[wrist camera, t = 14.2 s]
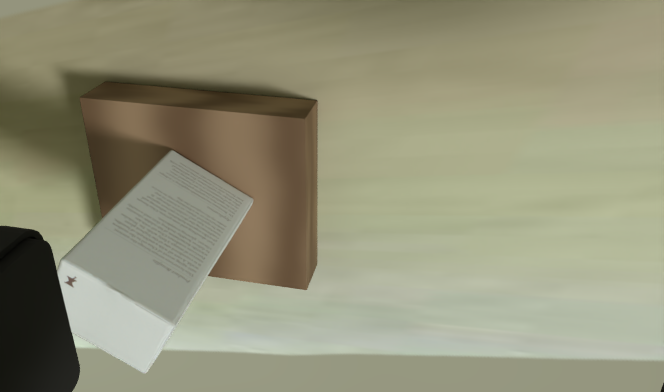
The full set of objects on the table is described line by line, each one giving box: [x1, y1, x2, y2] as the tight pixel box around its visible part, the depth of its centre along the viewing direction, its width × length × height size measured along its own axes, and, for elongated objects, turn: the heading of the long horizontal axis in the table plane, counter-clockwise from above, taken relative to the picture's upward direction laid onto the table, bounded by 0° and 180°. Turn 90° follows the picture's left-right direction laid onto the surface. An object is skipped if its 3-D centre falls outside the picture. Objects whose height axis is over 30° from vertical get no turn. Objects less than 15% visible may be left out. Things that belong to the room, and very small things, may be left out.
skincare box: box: [57, 150, 253, 373], centre depth 35 cm, size 6×4×12 cm
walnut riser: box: [80, 82, 317, 290], centre depth 41 cm, size 14×12×3 cm
